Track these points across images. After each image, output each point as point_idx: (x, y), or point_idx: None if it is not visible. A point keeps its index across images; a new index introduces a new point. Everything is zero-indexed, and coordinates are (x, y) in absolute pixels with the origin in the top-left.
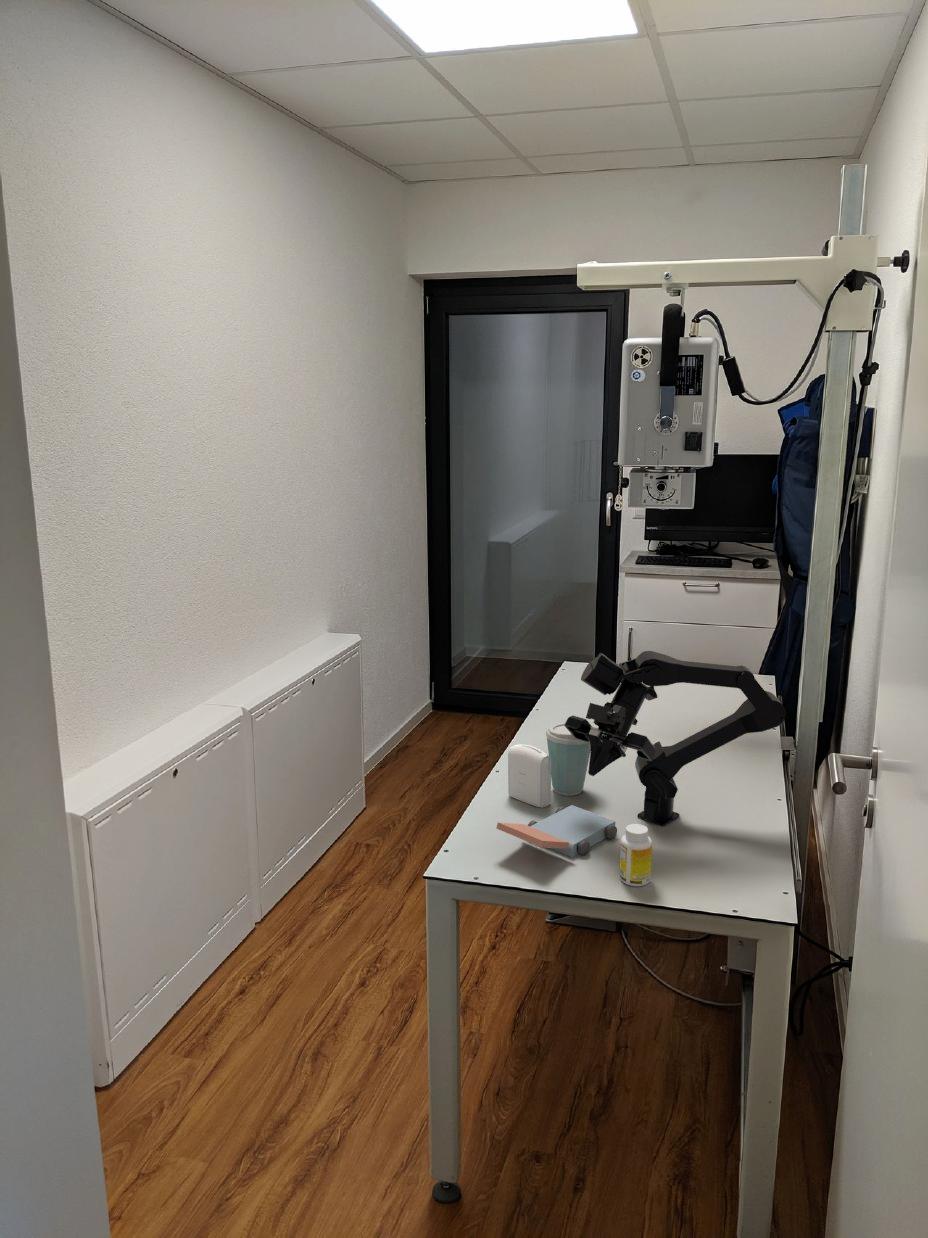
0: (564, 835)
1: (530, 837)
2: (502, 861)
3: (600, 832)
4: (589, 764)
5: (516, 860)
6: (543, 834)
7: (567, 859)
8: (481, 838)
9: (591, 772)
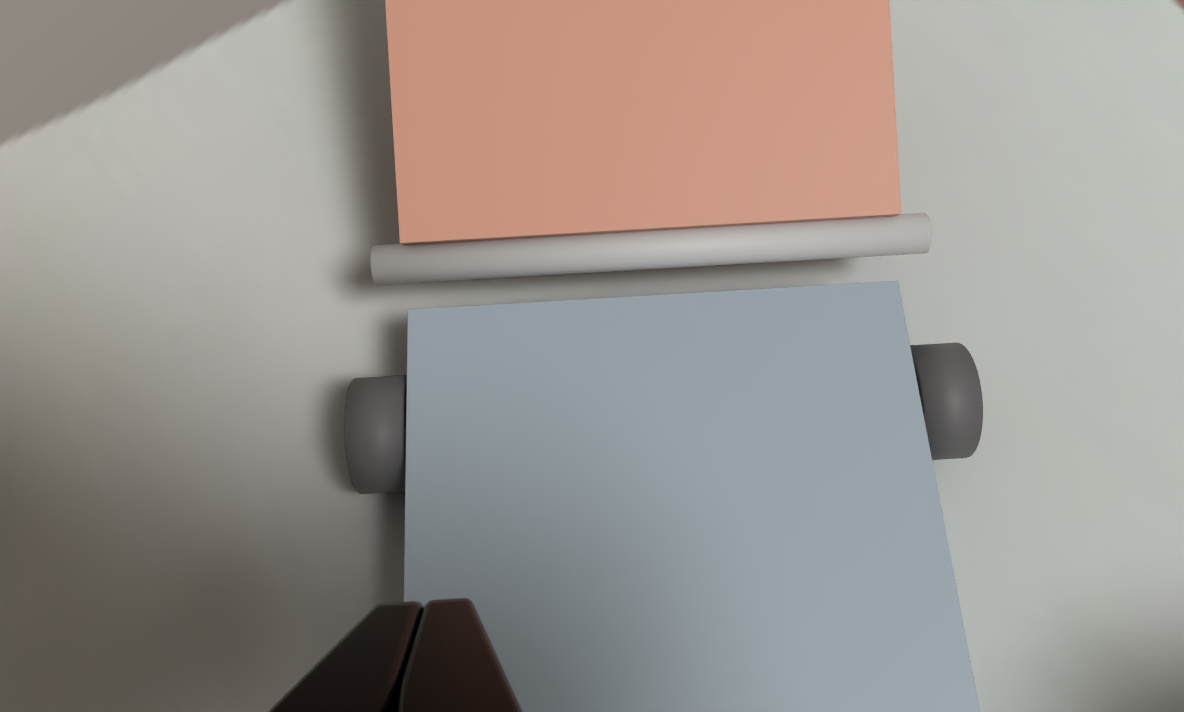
0: (575, 390)
1: None
2: None
3: None
4: (499, 687)
5: None
6: (598, 124)
7: (436, 306)
8: (1090, 105)
9: (381, 607)
